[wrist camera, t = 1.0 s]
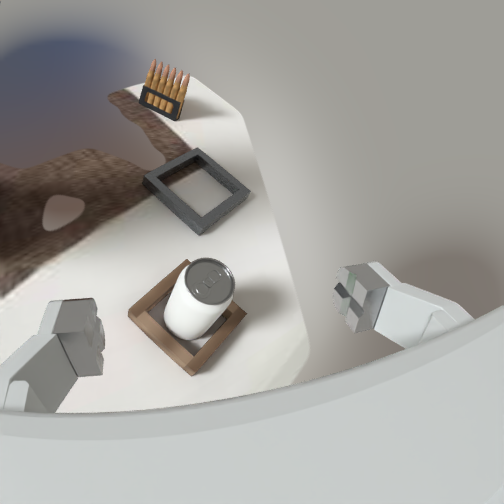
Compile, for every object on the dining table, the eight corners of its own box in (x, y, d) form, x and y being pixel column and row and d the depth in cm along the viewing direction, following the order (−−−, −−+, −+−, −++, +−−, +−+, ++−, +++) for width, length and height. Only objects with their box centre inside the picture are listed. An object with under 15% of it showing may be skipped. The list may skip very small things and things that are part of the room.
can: (153, 318, 40) (167, 278, 31) (183, 288, 45) (205, 243, 35) (189, 350, 40) (215, 321, 31) (217, 318, 44) (249, 281, 35)
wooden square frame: (127, 316, 39) (128, 309, 37) (183, 267, 46) (186, 258, 45) (191, 376, 38) (195, 373, 36) (240, 319, 46) (246, 313, 44)
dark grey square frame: (142, 183, 52) (143, 175, 50) (194, 154, 61) (197, 147, 59) (198, 235, 51) (202, 228, 49) (246, 198, 60) (250, 191, 58)
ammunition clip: (179, 118, 65) (194, 74, 56) (175, 121, 64) (190, 76, 55) (142, 100, 64) (154, 56, 55) (138, 103, 63) (149, 58, 54)
